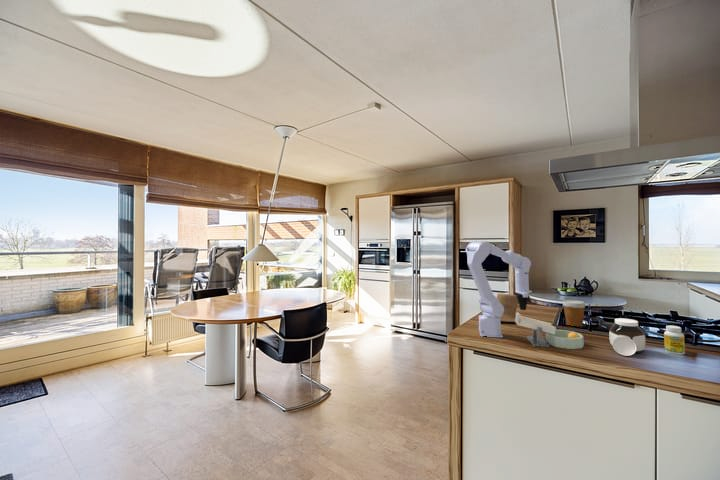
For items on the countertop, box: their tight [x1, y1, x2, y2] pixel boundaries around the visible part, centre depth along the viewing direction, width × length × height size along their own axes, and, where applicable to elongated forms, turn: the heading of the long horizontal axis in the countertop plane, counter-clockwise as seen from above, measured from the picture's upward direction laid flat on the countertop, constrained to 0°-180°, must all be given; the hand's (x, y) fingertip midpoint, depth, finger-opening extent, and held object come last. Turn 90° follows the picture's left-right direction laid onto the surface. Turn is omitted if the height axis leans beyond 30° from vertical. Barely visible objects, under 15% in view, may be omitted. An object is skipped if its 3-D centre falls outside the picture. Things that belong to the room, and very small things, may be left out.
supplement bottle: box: [663, 324, 686, 356], centre depth 115 cm, size 5×5×10 cm
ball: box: [568, 331, 579, 338], centre depth 127 cm, size 4×4×4 cm
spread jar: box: [608, 317, 646, 357], centre depth 117 cm, size 12×11×12 cm
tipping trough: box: [514, 312, 557, 334], centre depth 135 cm, size 14×15×4 cm
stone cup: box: [496, 293, 519, 323], centre depth 165 cm, size 15×12×15 cm
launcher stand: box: [526, 327, 551, 348], centre depth 131 cm, size 6×12×8 cm, turn 163°
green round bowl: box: [545, 329, 585, 350], centre depth 128 cm, size 13×13×4 cm
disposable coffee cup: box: [561, 299, 586, 327], centre depth 152 cm, size 10×10×12 cm
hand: (522, 309), depth 148 cm, fingers closed
